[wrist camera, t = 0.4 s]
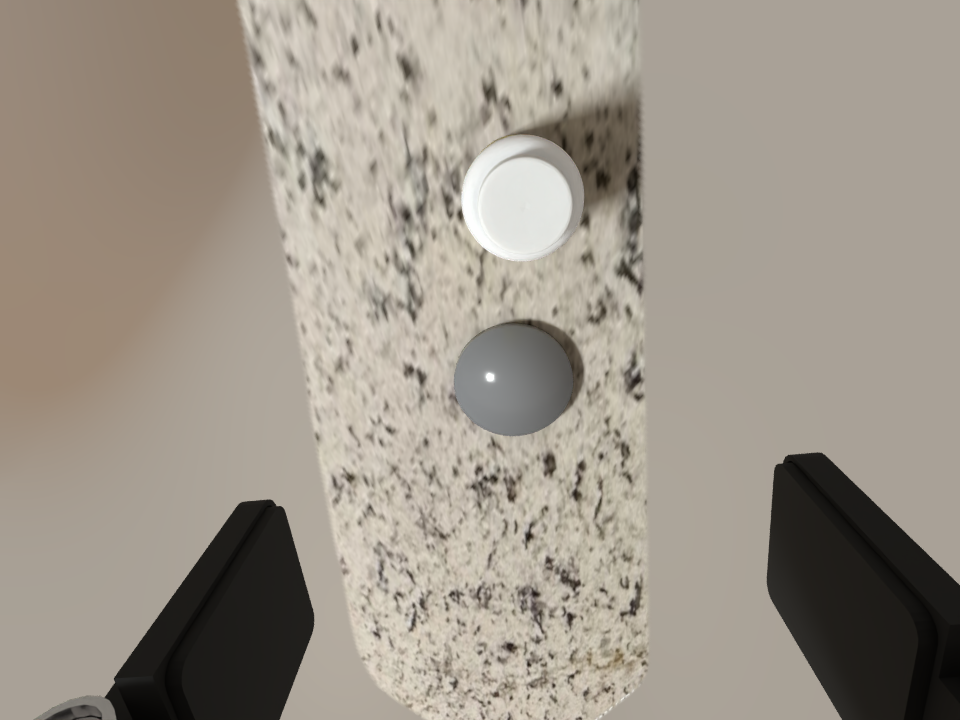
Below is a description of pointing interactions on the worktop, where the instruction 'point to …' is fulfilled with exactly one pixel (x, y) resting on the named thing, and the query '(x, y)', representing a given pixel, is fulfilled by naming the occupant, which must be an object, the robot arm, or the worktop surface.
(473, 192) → the supplement bottle
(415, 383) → the worktop surface
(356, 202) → the worktop surface
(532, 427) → the slate coaster
